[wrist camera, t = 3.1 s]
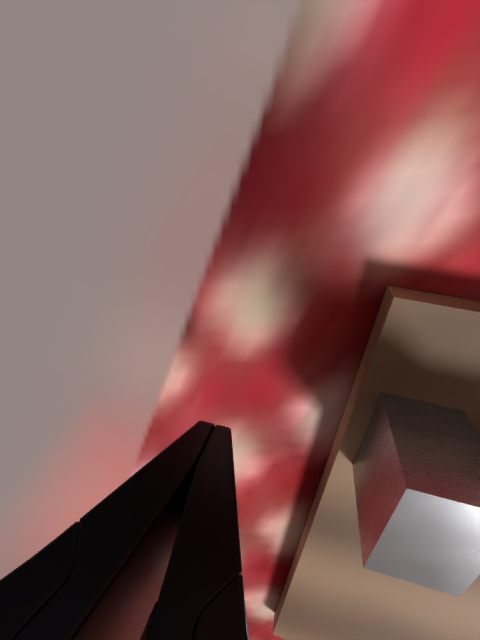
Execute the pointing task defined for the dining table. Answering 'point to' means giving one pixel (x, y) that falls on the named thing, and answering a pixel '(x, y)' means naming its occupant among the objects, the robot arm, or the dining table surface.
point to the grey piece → (419, 494)
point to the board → (339, 490)
